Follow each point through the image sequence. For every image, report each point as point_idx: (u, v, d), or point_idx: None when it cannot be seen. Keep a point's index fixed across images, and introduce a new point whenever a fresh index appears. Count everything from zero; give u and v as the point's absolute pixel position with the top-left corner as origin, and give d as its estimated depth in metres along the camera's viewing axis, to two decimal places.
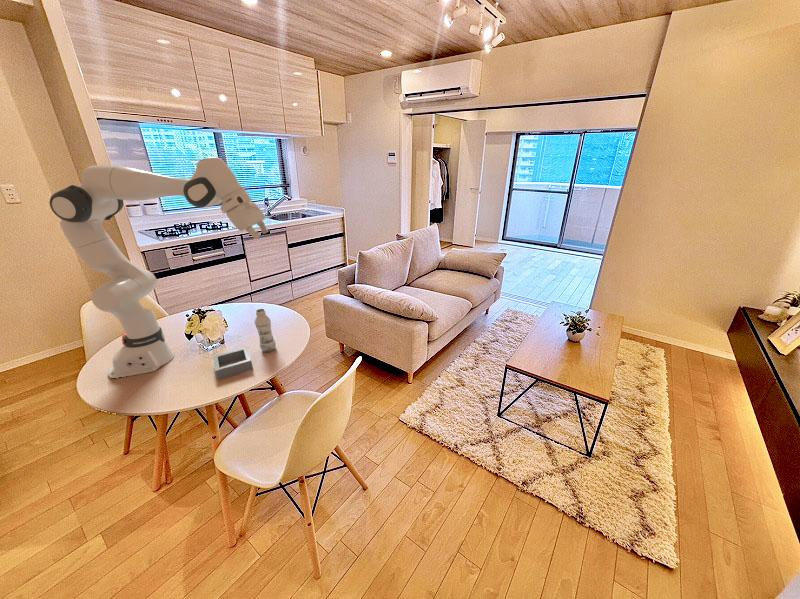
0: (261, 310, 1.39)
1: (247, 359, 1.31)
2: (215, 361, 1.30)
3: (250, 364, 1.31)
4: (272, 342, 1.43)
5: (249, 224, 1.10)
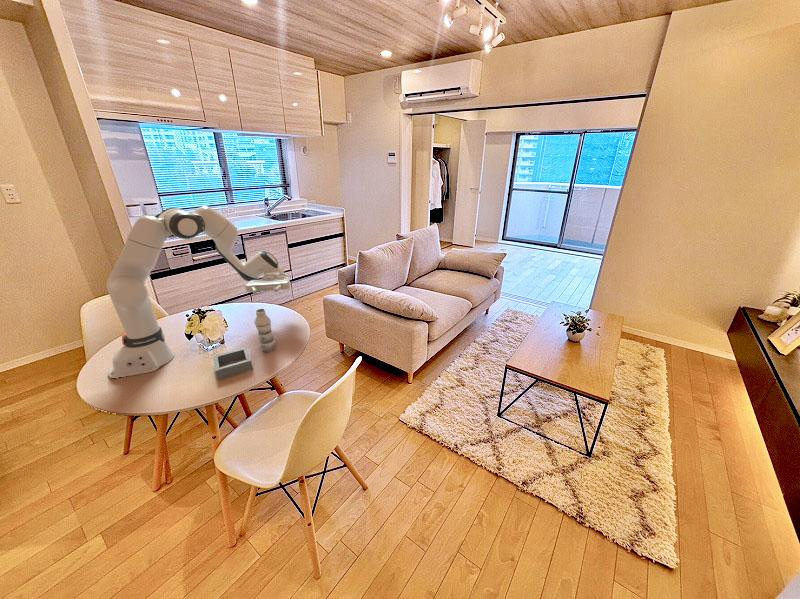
0: (261, 310, 1.39)
1: (247, 359, 1.31)
2: (215, 361, 1.30)
3: (250, 364, 1.31)
4: (272, 342, 1.43)
5: None
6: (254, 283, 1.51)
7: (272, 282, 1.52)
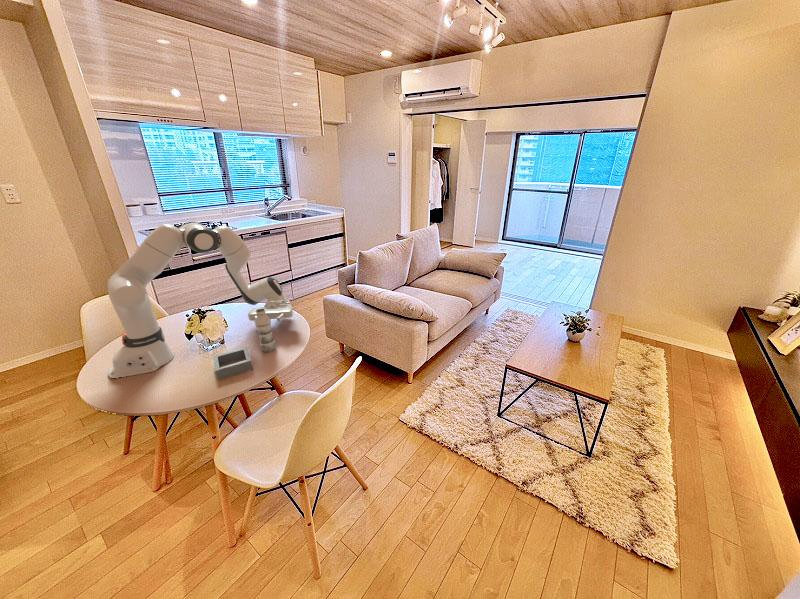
0: (261, 310, 1.39)
1: (247, 359, 1.31)
2: (215, 361, 1.30)
3: (250, 364, 1.31)
4: (272, 342, 1.43)
5: None
6: None
7: (275, 310, 1.54)
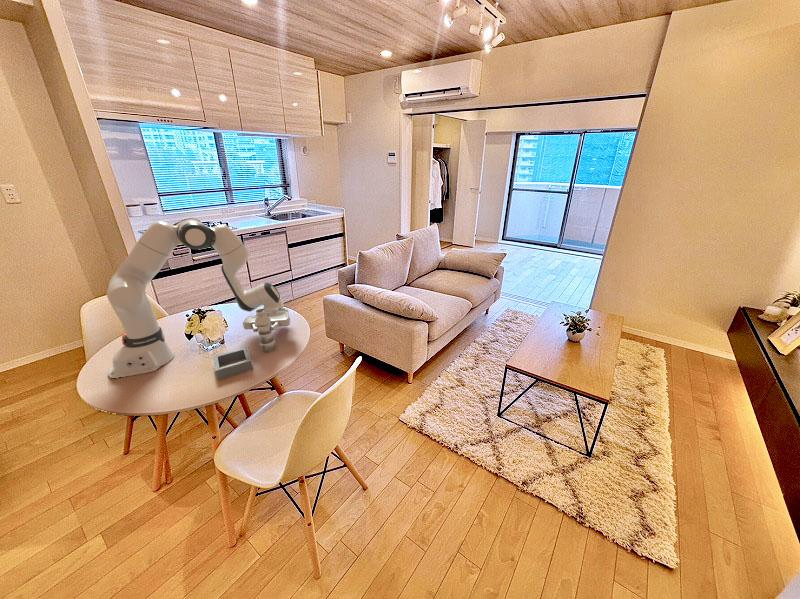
0: (261, 310, 1.39)
1: (247, 359, 1.31)
2: (215, 361, 1.30)
3: (250, 364, 1.31)
4: (272, 342, 1.43)
5: None
6: (252, 320, 1.45)
7: (271, 319, 1.45)
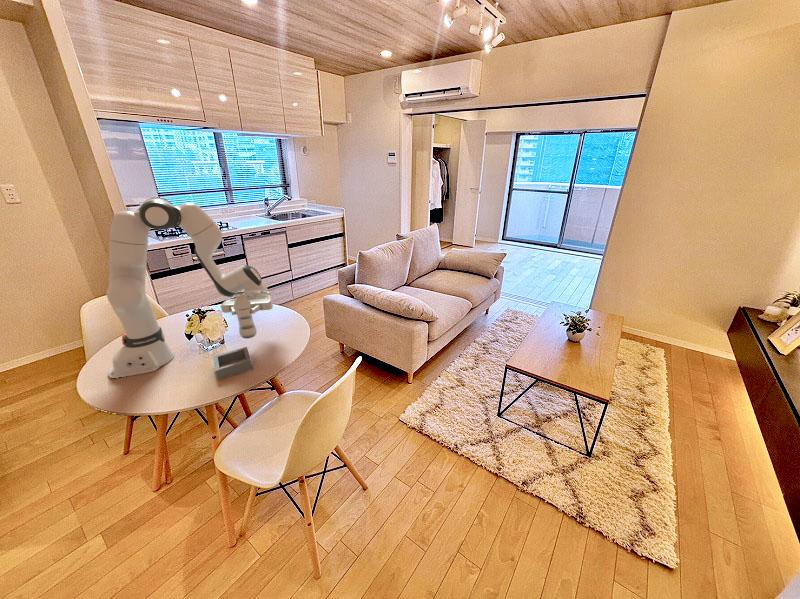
0: (241, 293, 1.30)
1: (247, 359, 1.31)
2: (215, 361, 1.30)
3: (250, 364, 1.31)
4: (252, 328, 1.33)
5: None
6: (231, 302, 1.35)
7: (252, 302, 1.36)
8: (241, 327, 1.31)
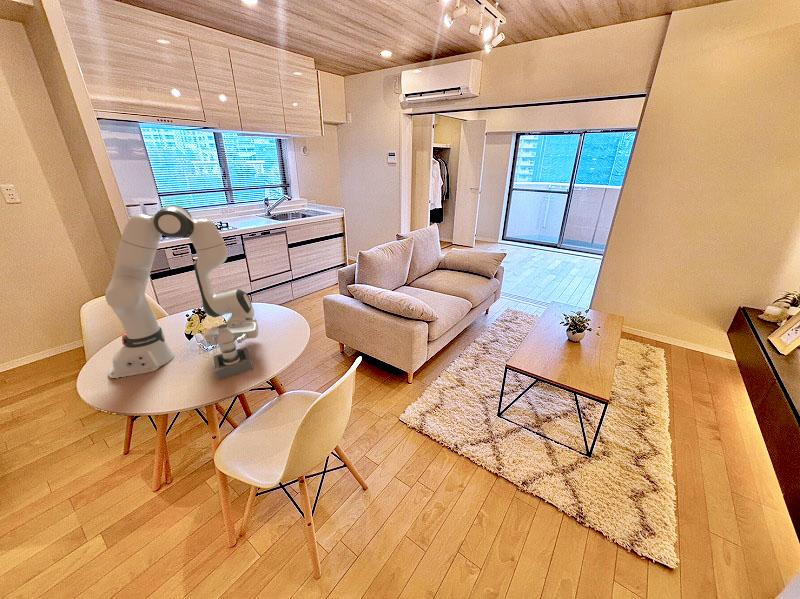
0: (224, 326, 1.26)
1: (247, 359, 1.31)
2: (215, 361, 1.30)
3: (250, 364, 1.31)
4: (237, 360, 1.30)
5: None
6: (215, 332, 1.32)
7: (236, 330, 1.33)
8: (225, 360, 1.28)
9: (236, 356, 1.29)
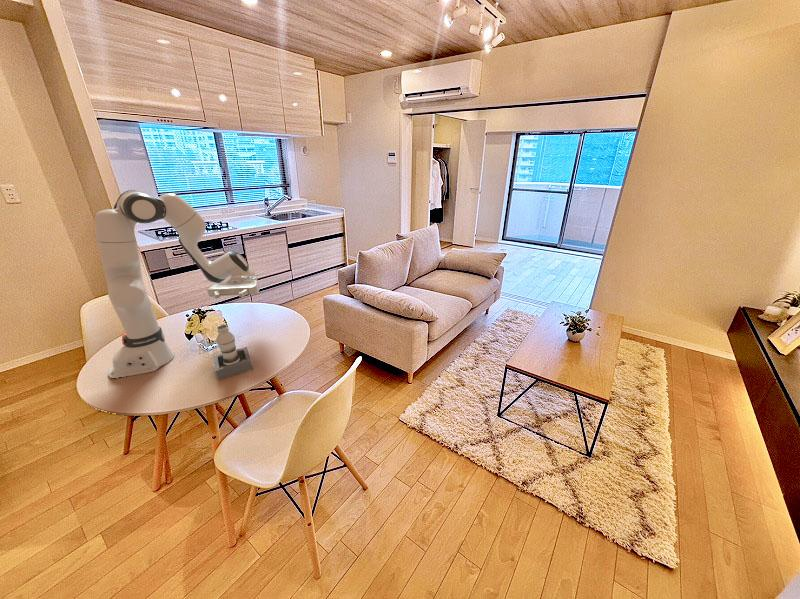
0: (223, 326, 1.26)
1: (247, 359, 1.31)
2: (215, 361, 1.30)
3: (250, 364, 1.31)
4: (237, 361, 1.30)
5: None
6: (218, 287, 1.38)
7: (238, 286, 1.39)
8: (225, 361, 1.28)
9: (236, 356, 1.29)
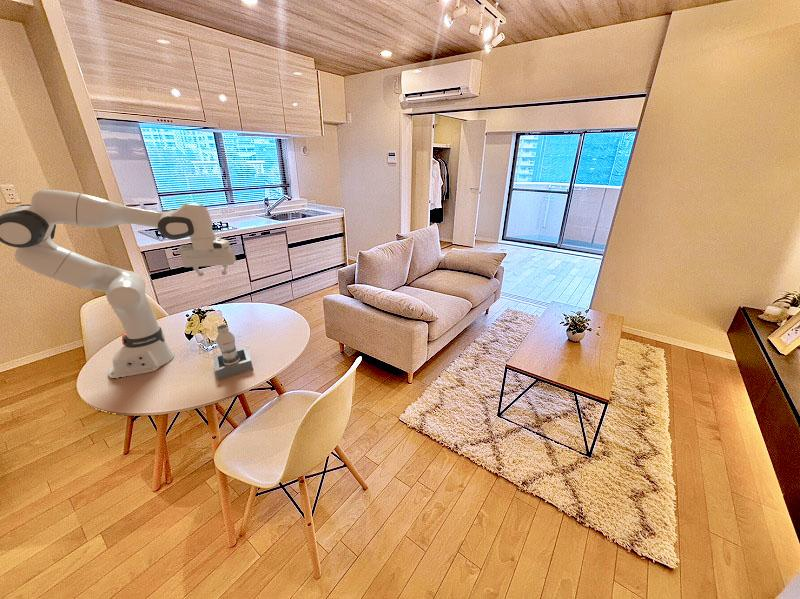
0: (223, 326, 1.26)
1: (247, 359, 1.31)
2: (215, 361, 1.30)
3: (250, 364, 1.31)
4: (237, 361, 1.30)
5: None
6: (192, 262, 1.32)
7: (213, 262, 1.33)
8: (225, 361, 1.28)
9: (236, 356, 1.29)
